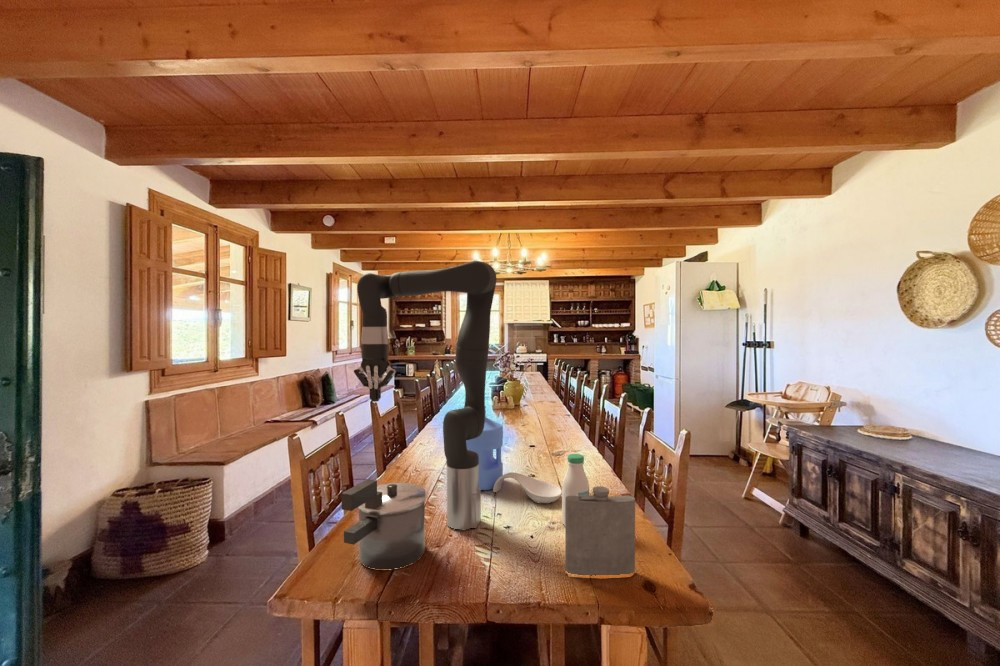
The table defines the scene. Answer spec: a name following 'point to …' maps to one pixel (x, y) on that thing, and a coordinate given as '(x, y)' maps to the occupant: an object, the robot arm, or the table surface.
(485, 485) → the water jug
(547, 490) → the spoon rest
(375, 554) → the pressure cooker pot
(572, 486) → the milk bottle
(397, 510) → the pressure cooker lid
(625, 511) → the hip flask
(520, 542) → the table surface
